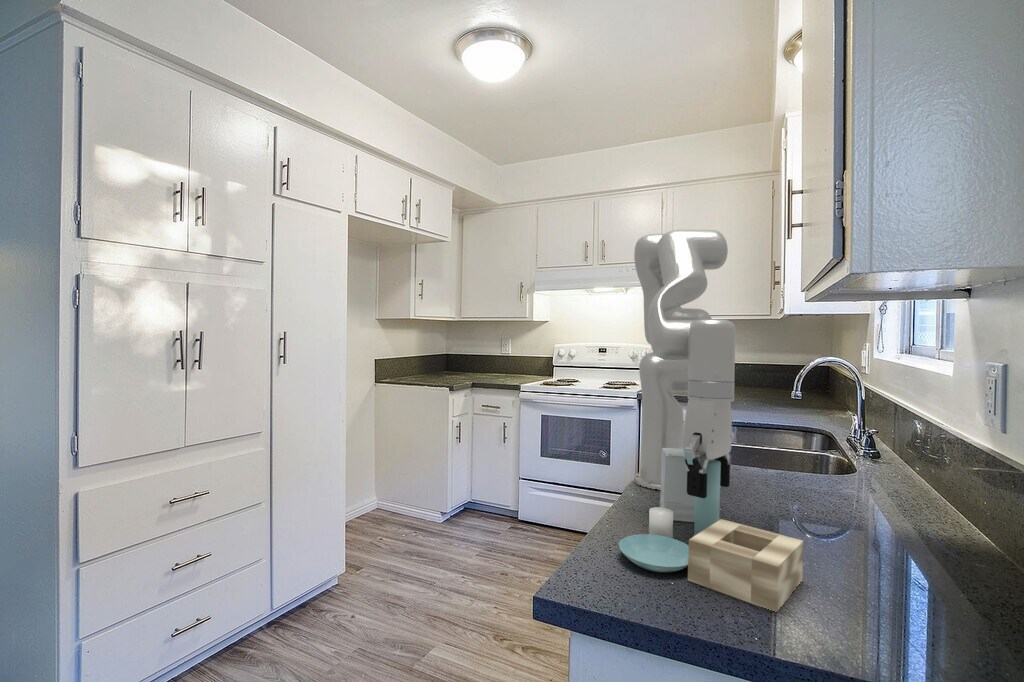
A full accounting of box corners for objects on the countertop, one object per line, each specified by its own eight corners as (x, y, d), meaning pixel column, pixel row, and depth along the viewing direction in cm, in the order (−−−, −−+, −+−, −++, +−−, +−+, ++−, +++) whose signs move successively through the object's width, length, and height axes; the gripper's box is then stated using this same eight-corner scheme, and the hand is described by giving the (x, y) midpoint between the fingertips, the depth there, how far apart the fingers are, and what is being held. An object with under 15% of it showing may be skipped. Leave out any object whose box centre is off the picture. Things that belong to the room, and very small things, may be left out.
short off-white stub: (655, 533, 93) (656, 505, 93) (676, 539, 90) (677, 511, 90) (644, 539, 90) (645, 510, 90) (665, 546, 87) (666, 516, 87)
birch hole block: (720, 555, 84) (721, 518, 84) (802, 581, 75) (803, 540, 75) (687, 580, 75) (688, 539, 75) (776, 612, 67) (777, 566, 67)
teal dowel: (699, 534, 92) (701, 457, 92) (722, 541, 89) (724, 461, 89) (690, 541, 89) (692, 461, 89) (712, 548, 86) (715, 465, 86)
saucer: (694, 553, 85) (694, 539, 85) (698, 586, 74) (699, 570, 74) (621, 543, 88) (621, 530, 88) (615, 574, 77) (615, 558, 77)
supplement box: (703, 523, 98) (704, 457, 97) (662, 520, 99) (664, 454, 99) (697, 510, 105) (698, 449, 105) (659, 507, 106) (660, 446, 106)
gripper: (709, 387, 97) (707, 477, 97) (666, 392, 85) (664, 495, 85) (750, 390, 92) (749, 485, 92) (711, 396, 80) (709, 506, 80)
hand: (708, 490), depth 88 cm, fingers open, 9 cm apart
